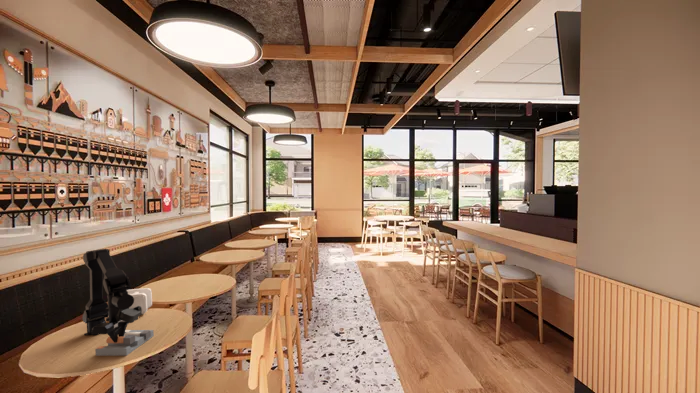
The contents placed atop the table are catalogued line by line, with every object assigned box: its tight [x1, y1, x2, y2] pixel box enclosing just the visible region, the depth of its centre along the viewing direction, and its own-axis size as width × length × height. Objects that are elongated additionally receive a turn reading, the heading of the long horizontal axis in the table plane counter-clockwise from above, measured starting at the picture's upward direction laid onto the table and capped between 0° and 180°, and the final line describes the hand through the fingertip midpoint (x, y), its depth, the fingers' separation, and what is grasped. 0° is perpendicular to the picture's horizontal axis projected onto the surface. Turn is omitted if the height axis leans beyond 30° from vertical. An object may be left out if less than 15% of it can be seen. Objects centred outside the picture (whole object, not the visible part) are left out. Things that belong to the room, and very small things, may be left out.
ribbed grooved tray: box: [94, 329, 154, 357], centre depth 131 cm, size 13×16×3 cm
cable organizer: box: [127, 287, 153, 316], centre depth 166 cm, size 15×11×12 cm
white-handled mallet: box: [124, 329, 152, 341], centre depth 135 cm, size 10×3×3 cm, turn 88°
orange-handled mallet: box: [105, 335, 135, 345], centre depth 127 cm, size 10×3×3 cm, turn 88°
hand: (118, 340), depth 127 cm, fingers closed on orange-handled mallet, 2 cm apart
